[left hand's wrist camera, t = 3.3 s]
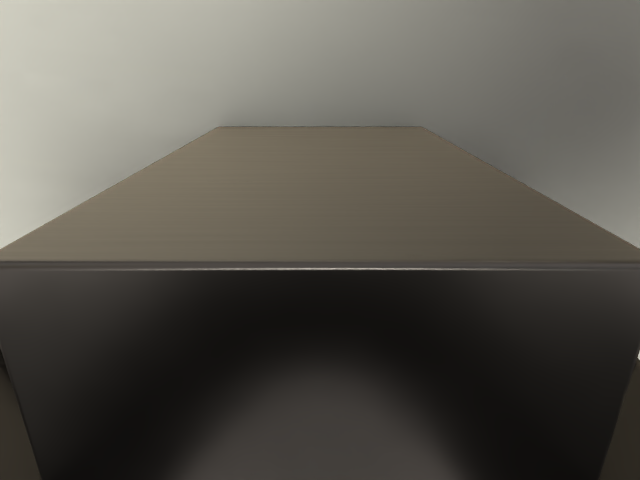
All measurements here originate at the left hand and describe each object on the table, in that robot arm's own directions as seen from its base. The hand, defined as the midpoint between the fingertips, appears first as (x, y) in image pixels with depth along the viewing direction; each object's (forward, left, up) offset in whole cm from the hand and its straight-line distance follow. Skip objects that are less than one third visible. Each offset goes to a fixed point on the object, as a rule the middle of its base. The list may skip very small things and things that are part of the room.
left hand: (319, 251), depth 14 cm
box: (+3, +6, -1) cm, 7 cm away
